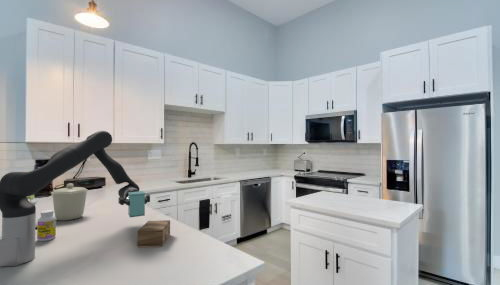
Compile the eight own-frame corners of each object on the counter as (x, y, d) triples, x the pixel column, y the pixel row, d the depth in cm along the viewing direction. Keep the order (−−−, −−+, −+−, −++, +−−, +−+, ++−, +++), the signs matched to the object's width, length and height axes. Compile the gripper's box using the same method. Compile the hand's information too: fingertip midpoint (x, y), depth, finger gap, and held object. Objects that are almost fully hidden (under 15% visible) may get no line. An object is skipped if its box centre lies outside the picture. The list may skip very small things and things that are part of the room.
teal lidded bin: (144, 215, 111) (145, 193, 111) (129, 217, 107) (129, 194, 107) (142, 212, 116) (142, 191, 116) (128, 214, 112) (128, 192, 113)
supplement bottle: (33, 242, 110) (34, 213, 111) (41, 237, 117) (42, 210, 117) (51, 240, 112) (51, 212, 112) (58, 235, 119) (58, 209, 119)
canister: (42, 221, 142) (42, 185, 142) (71, 213, 159) (72, 180, 160) (67, 223, 137) (67, 186, 138) (94, 215, 155) (95, 181, 155)
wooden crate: (162, 246, 105) (162, 229, 106) (137, 247, 105) (137, 230, 105) (170, 234, 120) (170, 220, 120) (148, 235, 119) (148, 220, 119)
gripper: (116, 190, 120) (119, 195, 106) (147, 187, 128) (154, 192, 113) (116, 205, 120) (119, 213, 106) (147, 201, 127) (154, 208, 113)
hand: (137, 202), depth 110 cm, fingers closed on teal lidded bin, 6 cm apart
